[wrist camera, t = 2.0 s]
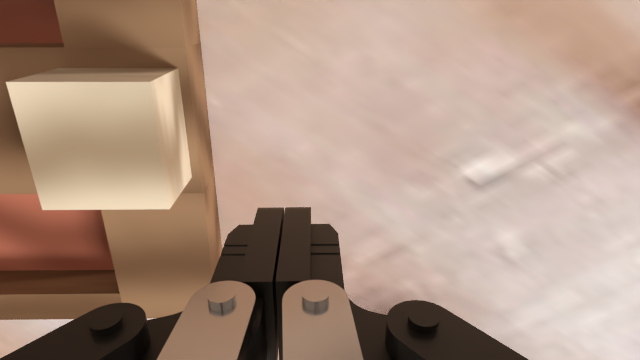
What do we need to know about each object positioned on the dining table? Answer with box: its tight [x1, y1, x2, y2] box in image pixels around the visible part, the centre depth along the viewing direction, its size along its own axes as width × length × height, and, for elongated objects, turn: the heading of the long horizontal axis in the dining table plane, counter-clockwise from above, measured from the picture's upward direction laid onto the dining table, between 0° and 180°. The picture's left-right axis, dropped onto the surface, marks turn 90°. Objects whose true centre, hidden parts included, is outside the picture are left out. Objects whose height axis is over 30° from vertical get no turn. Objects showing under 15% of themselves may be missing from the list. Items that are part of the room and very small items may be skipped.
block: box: [6, 68, 192, 210], centre depth 21 cm, size 6×6×4 cm
